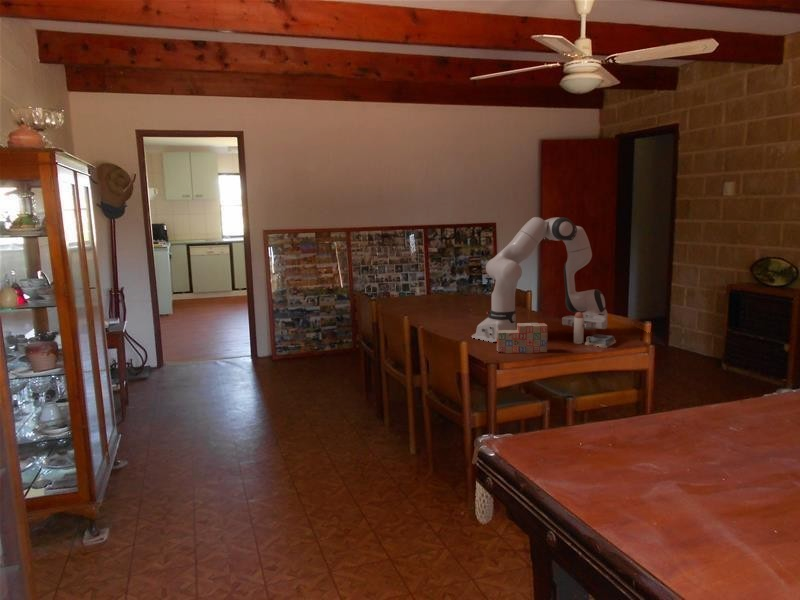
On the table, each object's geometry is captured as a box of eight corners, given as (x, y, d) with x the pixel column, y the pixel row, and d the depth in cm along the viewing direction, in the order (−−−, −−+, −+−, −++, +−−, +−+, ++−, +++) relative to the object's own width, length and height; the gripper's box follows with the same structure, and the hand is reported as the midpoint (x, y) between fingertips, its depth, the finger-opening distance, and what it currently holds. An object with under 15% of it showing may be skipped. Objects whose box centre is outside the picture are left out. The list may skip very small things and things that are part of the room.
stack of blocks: (498, 353, 260) (498, 326, 258) (496, 350, 266) (496, 323, 264) (547, 353, 259) (547, 325, 257) (544, 349, 265) (544, 322, 263)
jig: (584, 344, 271) (585, 337, 270) (594, 339, 280) (594, 332, 279) (607, 347, 264) (607, 339, 264) (615, 342, 274) (616, 334, 273)
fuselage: (572, 343, 275) (572, 312, 272) (575, 341, 278) (576, 310, 276) (581, 344, 272) (582, 313, 270) (584, 342, 275) (585, 311, 273)
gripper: (568, 311, 289) (556, 316, 279) (610, 315, 277) (600, 320, 266) (568, 324, 290) (556, 329, 280) (610, 328, 278) (599, 334, 267)
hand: (578, 325), depth 273 cm, fingers closed on fuselage, 4 cm apart
